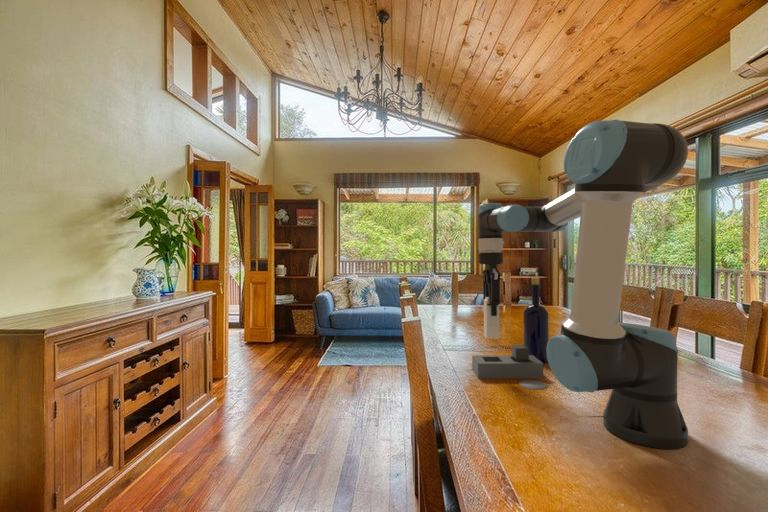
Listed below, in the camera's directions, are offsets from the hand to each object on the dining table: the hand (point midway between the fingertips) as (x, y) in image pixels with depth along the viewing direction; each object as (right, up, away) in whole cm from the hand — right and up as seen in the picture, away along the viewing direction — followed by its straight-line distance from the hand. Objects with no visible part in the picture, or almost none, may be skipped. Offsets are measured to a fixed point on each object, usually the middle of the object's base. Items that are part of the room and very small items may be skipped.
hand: (491, 324), depth 118 cm
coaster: (+9, -16, -11) cm, 22 cm away
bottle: (+20, -16, +14) cm, 30 cm away
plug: (0, -4, 0) cm, 4 cm away
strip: (+5, -16, 0) cm, 17 cm away
